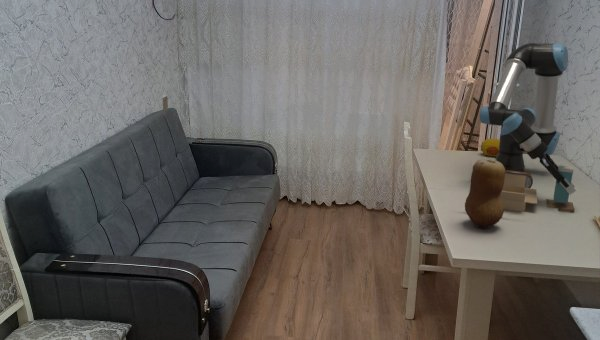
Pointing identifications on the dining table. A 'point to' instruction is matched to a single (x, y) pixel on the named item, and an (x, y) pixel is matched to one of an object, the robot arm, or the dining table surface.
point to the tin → (528, 177)
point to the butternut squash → (485, 193)
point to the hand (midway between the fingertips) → (572, 190)
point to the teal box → (560, 191)
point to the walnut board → (561, 205)
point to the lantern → (490, 147)
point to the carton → (517, 193)
